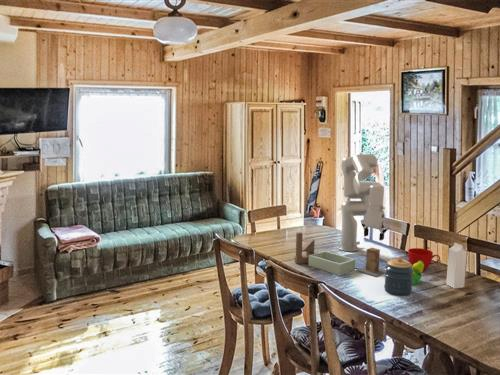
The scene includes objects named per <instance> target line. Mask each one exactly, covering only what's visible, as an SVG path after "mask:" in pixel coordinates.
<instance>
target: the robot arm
mask: <svg viewBox="0 0 500 375" xmlns="http://www.w3.org/2000/svg"><path fill="white" fill-rule="evenodd" d="M377 166H378V158H377V157H376V155H374V154H365V153H363V154H360V153H359V154H356V155H354V156H347V157H344V158H342V160H341V166H340V167H341V170H342V174H343V195H344V198H346V199H350V200H346V201H344V202H342V203H341V205H340V209H341V237H340V238H341V240H340V241H341V243H340V244H341V245H339V246H338V249H339V251H343V252H348V253H350V252H351V253H352V252H357V251H359V250H360V248H359V247H358V245H360V244H361V242H360V241H357V240H358V239H357V237H358V234H357V233H358V222H357V220H356V219H355V217H357V216H358V217H364V216H365V218H364V219H360V224H361V227H363V228H362V229H363V237H367V236H369V231H370V230H369V228H371V229H375V230H378V231H379V232H380V233H379V236H378V237H379V238H378V240H379V241H381V242H382V241H383V240H384V239H385V233H386V232H387V231H388V230H389V229H390V226H389V225H388V224H387V223H386V215H385V208H386V207H385V206H384V195H385V194H384V193H385V187H384V185H382V184H381V183H380V182H378V181H377V182H376V181H373V182H372V181H369V182H368V181H365V180H367V179H369V178H370V177H371V176H372V174H373V170H374V169H376V168H377ZM352 199H353V200H352ZM358 199H359V200H358Z"/></svg>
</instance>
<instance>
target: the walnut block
mask: <svg viewBox="0 0 500 375" xmlns="http://www.w3.org/2000/svg"><path fill="white" fill-rule="evenodd" d="M380 253H381V249H379V248H375V247H369V248H366V256H365V257H366V260H365V266H366V270H367V271H370V272H376V271H379V268H380V257H381V256H380V255H381V254H380Z"/></svg>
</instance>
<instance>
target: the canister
mask: <svg viewBox="0 0 500 375" xmlns="http://www.w3.org/2000/svg"><path fill="white" fill-rule="evenodd" d="M385 270H386V272H385V274H384V275H385V276H384V286H383V288H384V291H385V292H386V293H387V294H390V295H393V296H398V297H406V296H410V295H411V294H412V293H413V292H412V291H413V284H412V278H413V275H412V272H413V267H412V264H411V263H410V262H409V260H407V259H403V257H402V256H400V255H399V256H397V258H392V259H390V260H388V261H387V264H386V265H385Z"/></svg>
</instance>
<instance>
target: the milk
mask: <svg viewBox="0 0 500 375" xmlns="http://www.w3.org/2000/svg"><path fill="white" fill-rule="evenodd" d="M467 255H468V251H467V250H466V249H465V248H463V245H462V244H460V243H458V242H454V243H453V245H452V246H451V247H449V248H448V255H447V256H448V259H447V269H446V270H447V271H446V283H445V285H446V286H448V285H449V286H448V287H450V286H451V287H450V288H452V287H453V288H452V289H463V287H464V288H465V280H466V268H467Z"/></svg>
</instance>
